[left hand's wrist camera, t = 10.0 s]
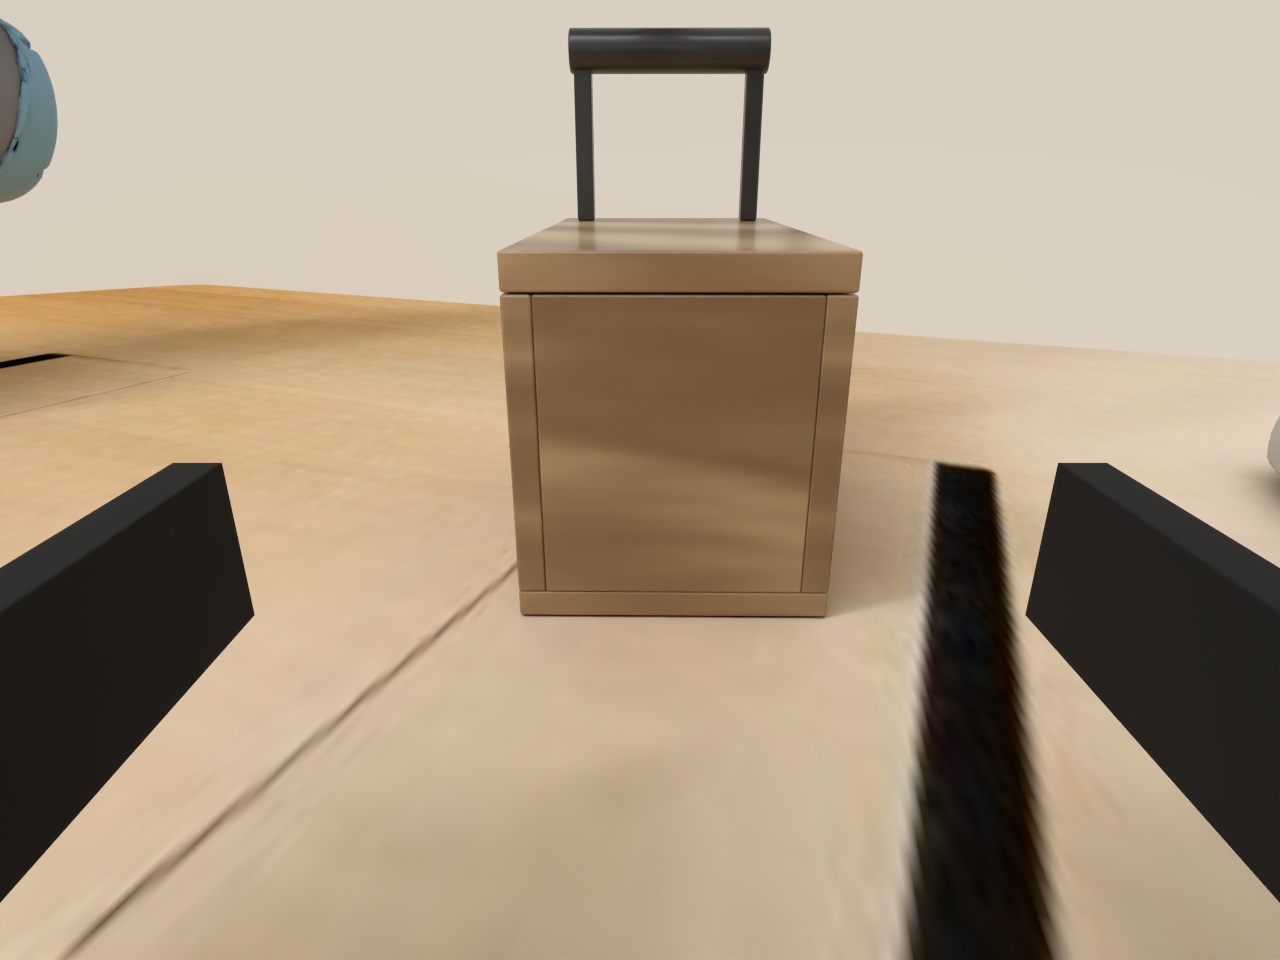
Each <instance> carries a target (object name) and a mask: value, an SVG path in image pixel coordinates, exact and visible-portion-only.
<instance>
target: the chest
mask: <svg viewBox="0 0 1280 960" xmlns="http://www.w3.org/2000/svg"><path fill="white" fill-rule="evenodd" d="M500 306H501V321H502V337H503V352H504V367H505V382H506V397H507V412H508V427H509V443H510V458H511V473H512V488H513V503H514V518H515V534H516V549H517V564H518V579H519V589H520V592H519V595H520V610H521V614H549V615H700V616H825V614H826V606H827V596H828V594H827V592H828V587H829V578H830V568H831V558H832V549H833V539H834V529H835V520H836V510H837V501H838V491H839V481H840V472H841V462H842V452H843V443H844V433H845V424H846V414H847V404H848V395H849V385H850V375H851V366H852V356H853V347H854V337H855V327H856V317H857V308H858V296H857V295H855V294H854V293H601V292H504V293H503V294H502V295H501V296H500Z"/></svg>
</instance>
